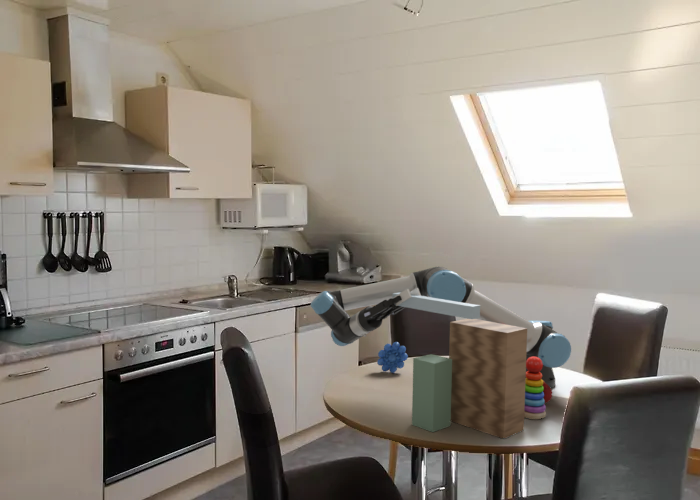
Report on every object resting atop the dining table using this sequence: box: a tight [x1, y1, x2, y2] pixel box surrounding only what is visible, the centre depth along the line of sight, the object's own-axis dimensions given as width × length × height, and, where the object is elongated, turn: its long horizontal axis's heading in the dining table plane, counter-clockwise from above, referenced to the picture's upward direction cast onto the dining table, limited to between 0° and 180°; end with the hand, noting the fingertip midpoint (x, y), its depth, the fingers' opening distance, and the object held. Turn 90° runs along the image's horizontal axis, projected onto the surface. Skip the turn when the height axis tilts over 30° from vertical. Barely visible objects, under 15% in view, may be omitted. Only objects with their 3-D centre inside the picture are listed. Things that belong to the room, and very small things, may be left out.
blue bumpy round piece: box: [376, 341, 409, 374], centre depth 247 cm, size 12×7×12 cm, turn 81°
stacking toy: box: [524, 356, 547, 420], centre depth 198 cm, size 8×8×19 cm
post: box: [411, 353, 452, 433], centre depth 189 cm, size 8×8×20 cm
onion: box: [542, 381, 553, 404], centre depth 210 cm, size 6×6×8 cm
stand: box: [448, 318, 527, 439], centre depth 189 cm, size 20×10×30 cm, turn 43°
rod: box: [392, 292, 480, 319], centre depth 187 cm, size 30×4×4 cm, turn 42°
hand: (414, 292), depth 192 cm, fingers closed on rod, 3 cm apart
